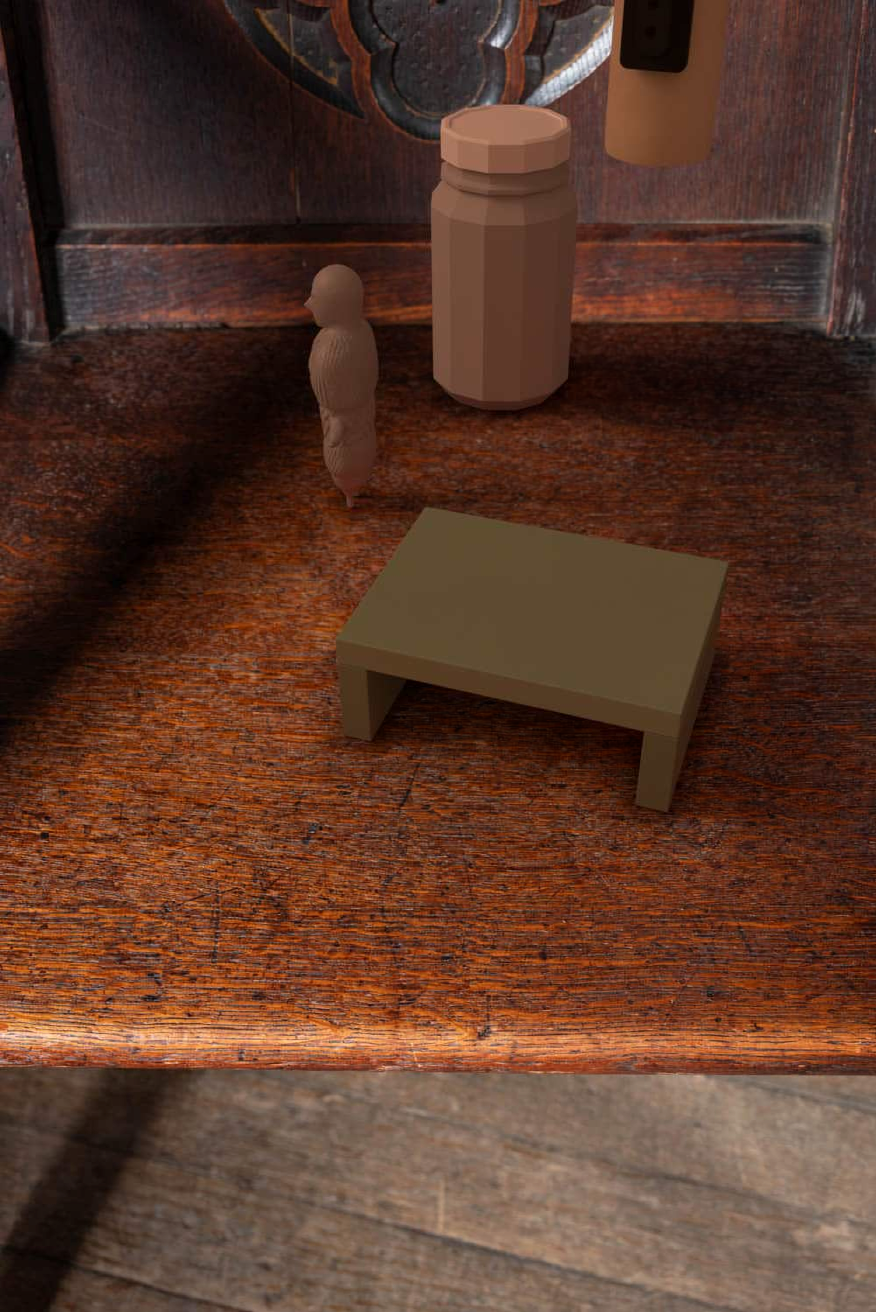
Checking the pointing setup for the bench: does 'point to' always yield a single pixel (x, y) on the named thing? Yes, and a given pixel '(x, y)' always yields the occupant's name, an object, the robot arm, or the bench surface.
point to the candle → (667, 97)
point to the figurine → (344, 377)
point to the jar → (503, 256)
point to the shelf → (540, 631)
